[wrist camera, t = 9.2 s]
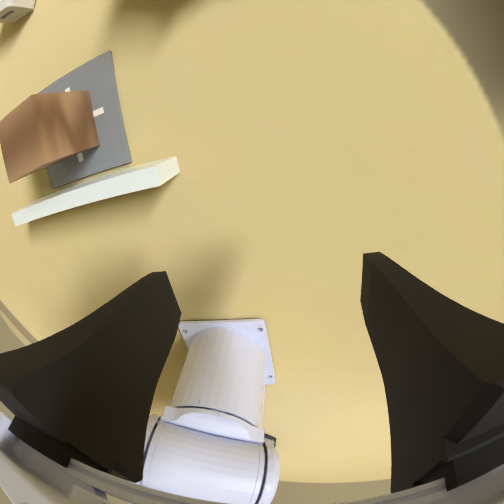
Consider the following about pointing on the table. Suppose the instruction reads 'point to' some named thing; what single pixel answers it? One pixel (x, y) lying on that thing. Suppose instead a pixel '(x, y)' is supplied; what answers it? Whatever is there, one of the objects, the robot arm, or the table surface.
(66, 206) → the frosted wall
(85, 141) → the walnut block
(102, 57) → the pad
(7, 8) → the usb wall charger
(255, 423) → the robot arm
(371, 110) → the table surface
